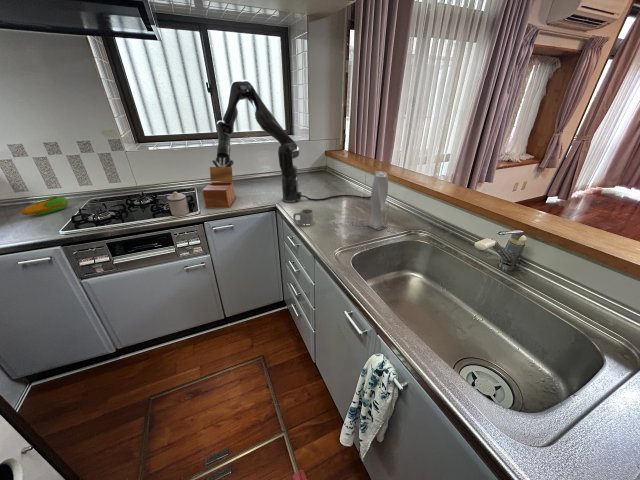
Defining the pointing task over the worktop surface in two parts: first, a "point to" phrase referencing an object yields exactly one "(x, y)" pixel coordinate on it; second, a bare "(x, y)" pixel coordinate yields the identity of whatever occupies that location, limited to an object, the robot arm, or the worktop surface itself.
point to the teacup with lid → (178, 204)
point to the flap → (221, 174)
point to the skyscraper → (379, 201)
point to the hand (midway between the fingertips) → (222, 174)
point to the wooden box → (218, 195)
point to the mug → (305, 217)
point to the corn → (46, 206)
